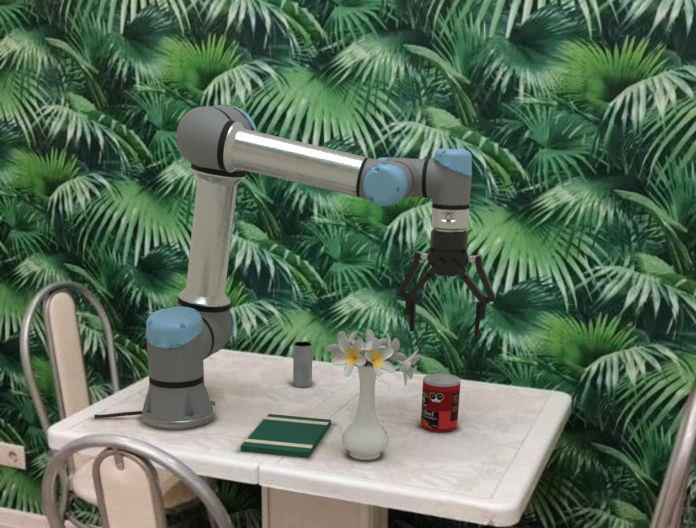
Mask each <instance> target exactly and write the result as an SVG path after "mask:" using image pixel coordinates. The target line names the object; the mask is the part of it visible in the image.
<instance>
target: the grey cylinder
mask: <svg viewBox="0 0 696 528" xmlns="http://www.w3.org/2000/svg"><path fill="white" fill-rule="evenodd" d="M292 345H293V350H292V352H293V353H292V355H293V356H292V359H293V360H292V362H293V363H292V368H293V369H292V373H293V374H292V381H293V382H292V384H293V386H295V387H298V388H308V387H312V385H313V343H312V342H310V341H295V342H293V344H292Z"/></svg>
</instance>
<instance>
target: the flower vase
mask: <svg viewBox="0 0 696 528" xmlns="http://www.w3.org/2000/svg"><path fill="white" fill-rule="evenodd" d="M358 333H359V331H358V330H354V331H352V332H351V333H350V335H349V336H348V337H347V334H346V332H345V331H343V330H340V331H338V332H337V335H336V341H337V343H332V344H329V345H327V346H326V347H325V348H324V351H325V352H328V353H333V355H332V357H331V361H330V362H331V364H332V365H333V366H343V365H344V367H343V375H344V376H345V377H346V378H348V377H350V376H351V375H352V373H353V371H354V368H355V366H356V368H357V372H358V377H359V393H358V394H359V396H358V406H357V411H356V415H355V417H354V419H353V421H352V422H351V424H349V425H348V426H347V427H346V429H345V430H344V431H343V433H342V435H341V443H342V444H343V446H344V448H345V449H346V450H348V451H349V455H350V457H351V458H352V459H355V460H360V461H372V460H376V459H378V458H380V456H381V452H383V451H384V450H385V449H386V448H387V446H388V445H389V443H390V439H389V438H390V437H389V434H388V432H387V430H386V429H385V428H384V426H382V424H381V423H380V422H379V419H378V416H377V414H376V413H377V412H376V404H375V401H376V400H375V397H376V396H375V394H376V392H375V391H376V389H375V387H376V380H377V377H380V376H381V375H382V372H383V370H385V371H386V372H387V373H390V374H395V372H396V368H395V366H394V365H393V364H392V363H391V362H393V363H397V364H400V366H401V369H402V373H403V381H404V387H406V386H407V383H408V378H409V380H412V379H413V377H414V368H413V367H412V366H414V365H415V364H417V362H418V361H419V359H420V358H421V353H418V352H419V348H417V349H416V350H415V351H414V352H412V354H411V355H410V356H408V357H407V356H406V355H405V354H404V353H402V352H400V351H399V350H400V347H401V344H400V340H399V339H398V338H397V337H394V339H393V340H392V339H391V337H390V335H389V333H388V332H387V331H386V332H385V337H383V338H380V339H378V338H376V336H375V333H374V331H373V330H372V329H371V328H367V329H366V330H365V333H364V334H365V335H364V340H365V341H363V339H362V338H358V339H356V338H357V335H358Z"/></svg>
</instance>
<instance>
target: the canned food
mask: <svg viewBox="0 0 696 528" xmlns="http://www.w3.org/2000/svg"><path fill="white" fill-rule="evenodd" d="M460 393H461V378H460V377H459V376H456V375H453V374H451V373H430V374H426V375H424V376H423V379H422V391H421V412H420V424H421V428H423V429H424V430H426V431H429V432H433V433H449V432H453V431H454V430H456V429H457V426H458V424H459V423H458V421H459V410H460V397H461V396H460V395H461V394H460Z"/></svg>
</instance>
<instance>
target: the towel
mask: <svg viewBox="0 0 696 528" xmlns="http://www.w3.org/2000/svg"><path fill="white" fill-rule="evenodd" d="M331 425H332V420H331V419H330V418H329V419H327V418H318V417H307V416H295V415H288V414H287V415H286V414H285V415H284V414H273V413H268V414H267V415H266V416H265V417H264V418H263V420H262V421H261V422H260V423H259V424H258V425H257V427H256V428H255V429H254V430H253V431H252V432H251V433H250V435H248V437H247V438H245V439H244V440H243V443H242V444H241V445H240V452H247V453H256V454H267V455H276V456H285V457H296V458H306V459H309V458H310V456H311V455H312V453H313V452H314V451H315V450H316V447H318V445H319V443H320V441H321V440H322V439H323V437H324V435H325V434H326V433H327V431H328V430H329V428H330V426H331Z"/></svg>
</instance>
